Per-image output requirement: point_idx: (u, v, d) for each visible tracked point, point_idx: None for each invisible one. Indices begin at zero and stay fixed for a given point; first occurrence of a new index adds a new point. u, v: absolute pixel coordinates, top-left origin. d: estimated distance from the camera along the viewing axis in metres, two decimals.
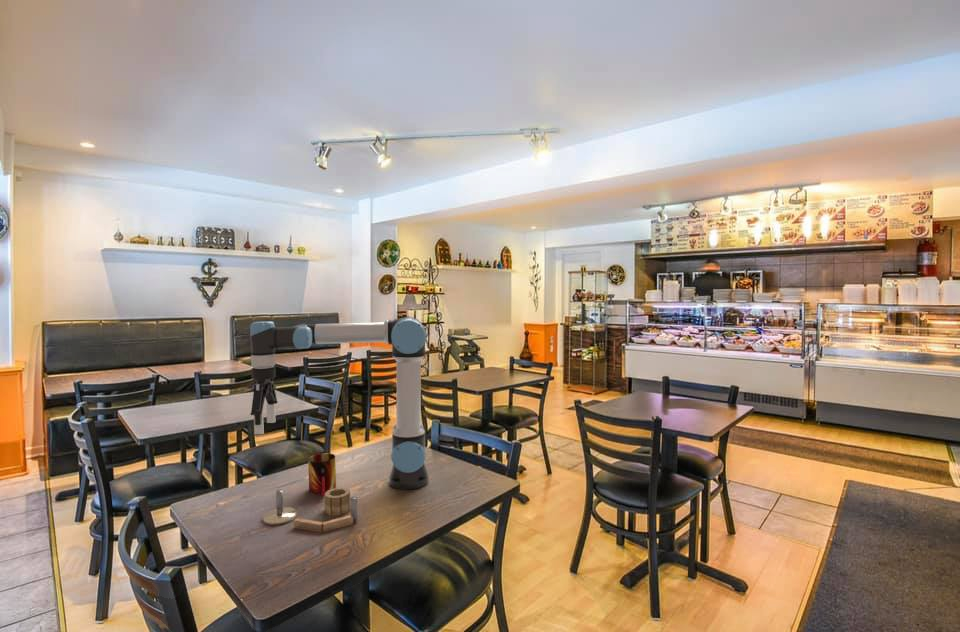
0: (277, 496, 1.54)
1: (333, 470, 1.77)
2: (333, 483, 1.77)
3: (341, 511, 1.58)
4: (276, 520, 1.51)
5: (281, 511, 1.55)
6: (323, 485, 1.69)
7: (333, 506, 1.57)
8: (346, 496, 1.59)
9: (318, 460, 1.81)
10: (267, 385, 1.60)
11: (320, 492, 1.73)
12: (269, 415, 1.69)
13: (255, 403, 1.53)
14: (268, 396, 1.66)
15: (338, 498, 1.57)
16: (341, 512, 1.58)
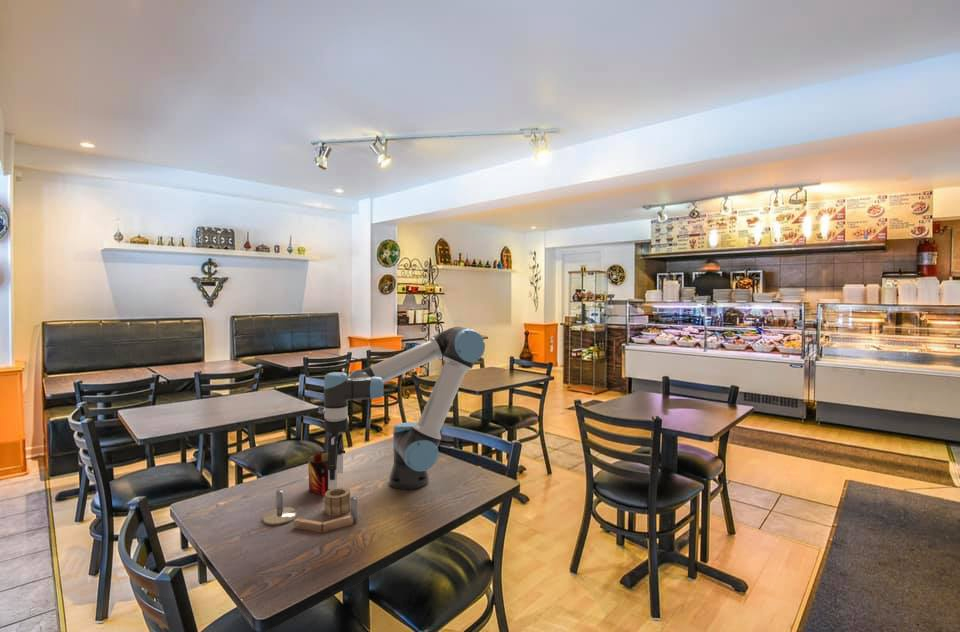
0: (277, 496, 1.54)
1: None
2: None
3: (341, 511, 1.58)
4: (276, 520, 1.51)
5: (281, 511, 1.55)
6: (323, 485, 1.69)
7: (333, 506, 1.57)
8: (346, 496, 1.59)
9: (318, 460, 1.81)
10: (340, 438, 1.58)
11: (320, 492, 1.73)
12: (337, 465, 1.66)
13: (331, 458, 1.51)
14: None
15: (338, 498, 1.57)
16: (341, 512, 1.58)
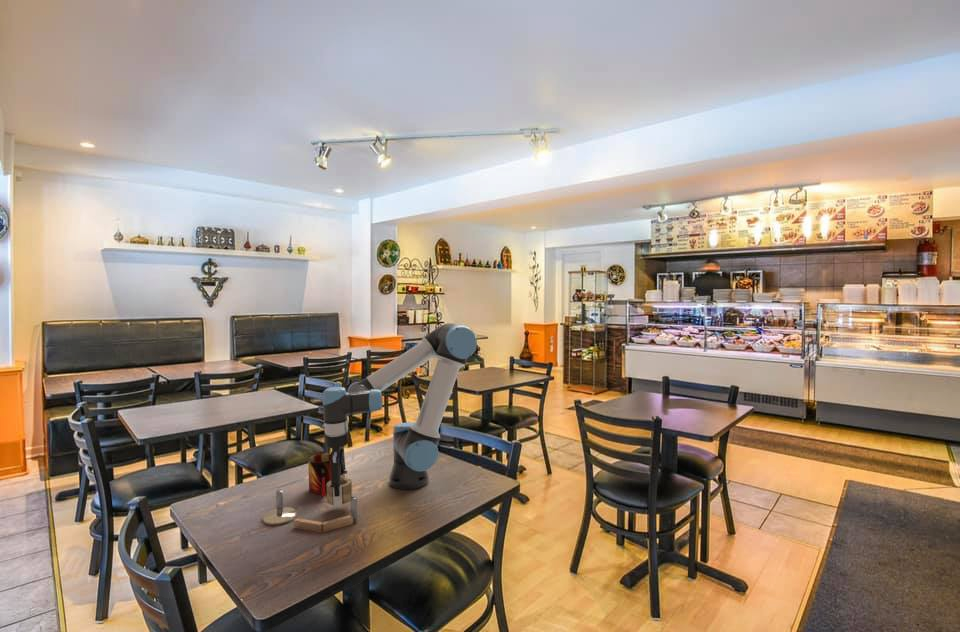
0: (277, 496, 1.54)
1: None
2: None
3: (343, 501, 1.58)
4: (276, 520, 1.51)
5: (281, 511, 1.55)
6: (323, 485, 1.68)
7: None
8: (348, 486, 1.59)
9: (318, 460, 1.81)
10: (341, 453, 1.58)
11: (320, 492, 1.73)
12: None
13: (334, 476, 1.53)
14: None
15: None
16: (343, 502, 1.58)
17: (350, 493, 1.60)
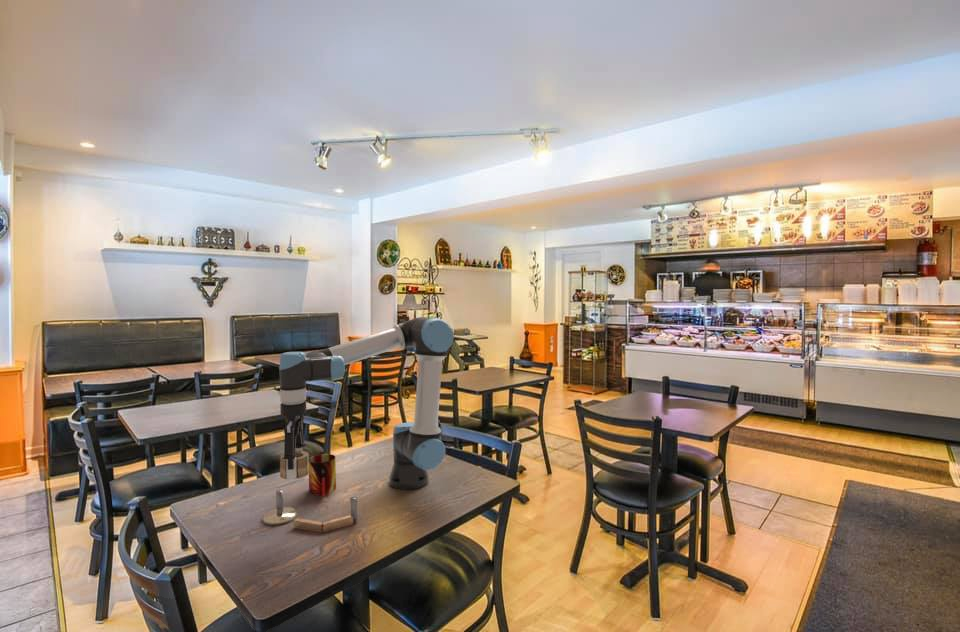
0: (277, 496, 1.54)
1: (333, 471, 1.76)
2: (333, 484, 1.76)
3: (297, 475, 1.45)
4: (276, 520, 1.51)
5: (281, 511, 1.55)
6: (323, 486, 1.68)
7: None
8: (303, 459, 1.46)
9: (318, 461, 1.81)
10: (297, 423, 1.46)
11: (320, 493, 1.73)
12: None
13: (287, 447, 1.41)
14: (296, 436, 1.51)
15: None
16: (297, 476, 1.45)
17: (306, 467, 1.47)
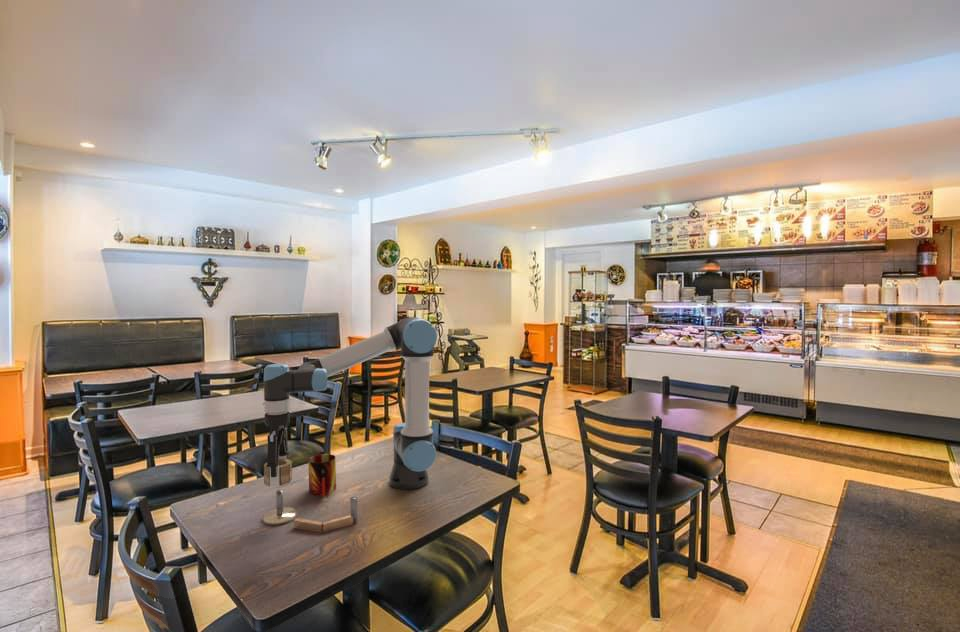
0: (277, 496, 1.54)
1: (333, 471, 1.76)
2: (333, 484, 1.76)
3: (280, 482, 1.51)
4: (276, 520, 1.51)
5: (281, 511, 1.55)
6: (323, 486, 1.68)
7: None
8: (286, 467, 1.52)
9: (318, 461, 1.80)
10: (281, 432, 1.52)
11: (320, 493, 1.73)
12: None
13: (270, 455, 1.47)
14: (280, 444, 1.57)
15: None
16: (280, 483, 1.51)
17: (289, 475, 1.54)
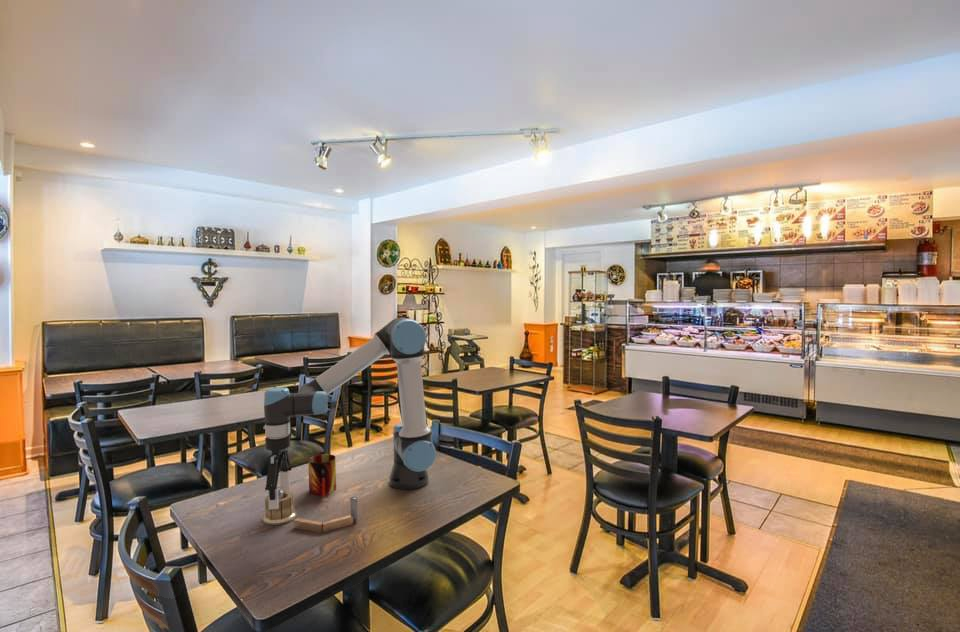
0: None
1: (333, 471, 1.76)
2: (333, 484, 1.76)
3: (282, 516, 1.52)
4: (276, 520, 1.51)
5: None
6: (323, 486, 1.68)
7: (273, 510, 1.51)
8: (287, 500, 1.53)
9: (318, 461, 1.80)
10: (282, 455, 1.53)
11: (320, 493, 1.72)
12: (283, 483, 1.61)
13: (270, 478, 1.46)
14: (282, 464, 1.59)
15: (278, 502, 1.51)
16: (282, 517, 1.52)
17: (290, 508, 1.54)
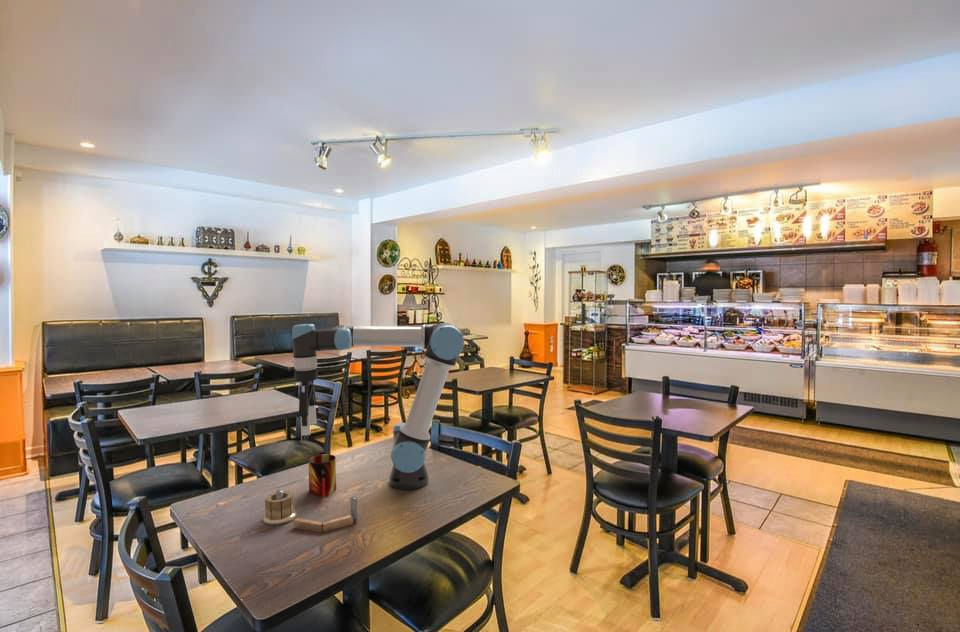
0: (277, 496, 1.54)
1: (333, 471, 1.75)
2: (333, 484, 1.75)
3: (282, 516, 1.52)
4: (276, 520, 1.51)
5: None
6: (323, 486, 1.68)
7: (273, 510, 1.51)
8: (287, 500, 1.53)
9: (318, 461, 1.80)
10: (310, 387, 1.62)
11: (320, 493, 1.72)
12: (310, 416, 1.71)
13: (302, 405, 1.55)
14: (309, 397, 1.69)
15: (278, 502, 1.51)
16: (282, 517, 1.52)
17: (290, 508, 1.54)
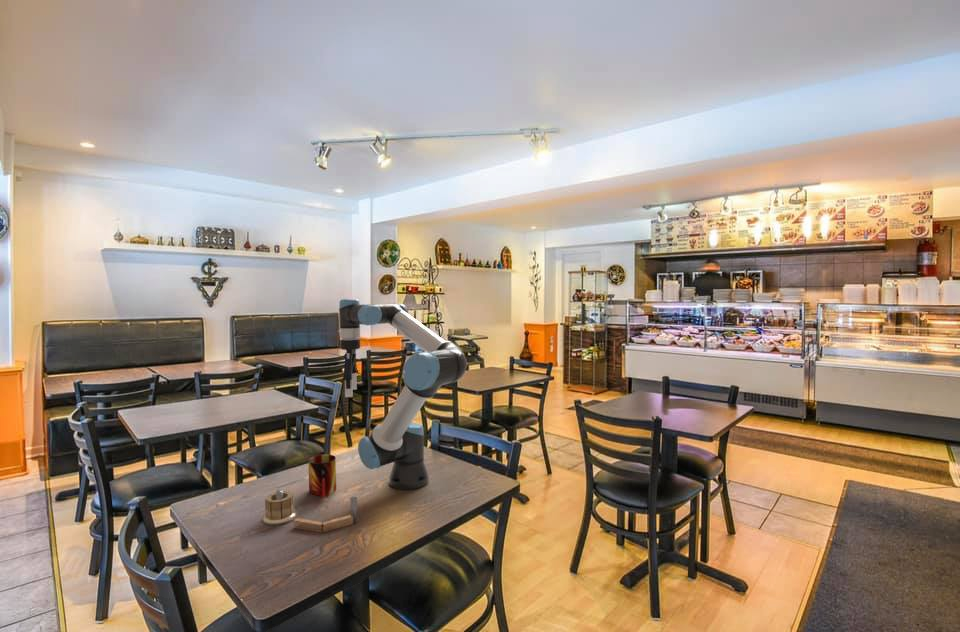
0: (277, 496, 1.54)
1: (333, 471, 1.75)
2: (333, 485, 1.75)
3: (282, 516, 1.52)
4: (276, 520, 1.51)
5: None
6: (323, 487, 1.67)
7: (273, 510, 1.51)
8: (287, 500, 1.53)
9: (318, 461, 1.80)
10: (354, 355, 1.82)
11: (320, 494, 1.72)
12: (352, 383, 1.90)
13: (347, 369, 1.75)
14: None
15: (278, 502, 1.51)
16: (282, 517, 1.52)
17: (290, 508, 1.54)
